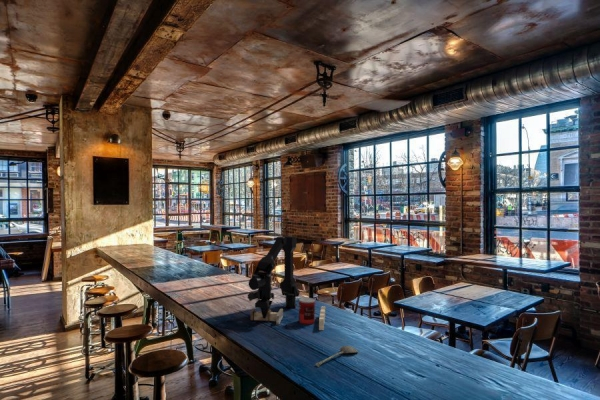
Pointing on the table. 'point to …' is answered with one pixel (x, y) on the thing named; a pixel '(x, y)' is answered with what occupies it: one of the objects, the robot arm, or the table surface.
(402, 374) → the table surface
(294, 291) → the robot arm
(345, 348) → the soupspoon
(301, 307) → the canned food
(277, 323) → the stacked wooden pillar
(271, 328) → the table surface
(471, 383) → the table surface
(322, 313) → the stop rail
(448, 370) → the table surface
